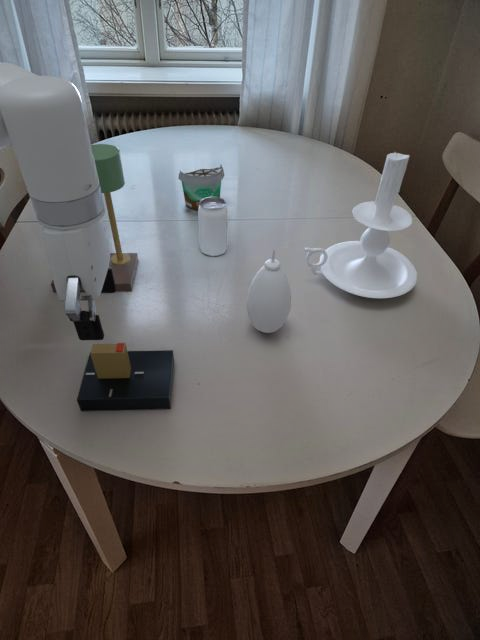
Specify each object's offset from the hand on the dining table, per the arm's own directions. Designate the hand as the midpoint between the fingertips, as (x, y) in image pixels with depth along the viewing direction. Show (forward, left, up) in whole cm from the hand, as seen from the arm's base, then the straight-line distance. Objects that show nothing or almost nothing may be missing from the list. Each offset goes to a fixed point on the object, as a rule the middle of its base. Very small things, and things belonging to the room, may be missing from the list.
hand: (99, 313), depth 60 cm
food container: (+14, +60, -16) cm, 64 cm away
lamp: (-4, +30, -12) cm, 33 cm away
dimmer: (+2, 0, -16) cm, 16 cm away
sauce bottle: (+26, +13, -16) cm, 33 cm away
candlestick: (+47, +28, -16) cm, 57 cm away
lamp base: (-9, +30, -16) cm, 35 cm away
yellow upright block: (0, 0, -13) cm, 13 cm away
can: (+16, +40, -16) cm, 46 cm away
